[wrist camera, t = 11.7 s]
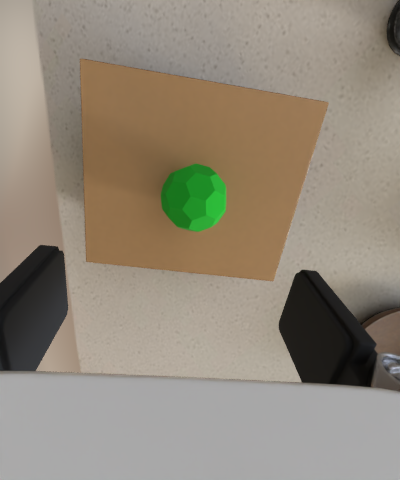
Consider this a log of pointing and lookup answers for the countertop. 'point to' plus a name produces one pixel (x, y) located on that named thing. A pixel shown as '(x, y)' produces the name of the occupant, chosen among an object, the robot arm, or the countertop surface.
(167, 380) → the robot arm
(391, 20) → the grey stone figurine
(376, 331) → the saucer
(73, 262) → the countertop surface
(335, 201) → the countertop surface
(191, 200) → the polyhedron
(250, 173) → the board box
